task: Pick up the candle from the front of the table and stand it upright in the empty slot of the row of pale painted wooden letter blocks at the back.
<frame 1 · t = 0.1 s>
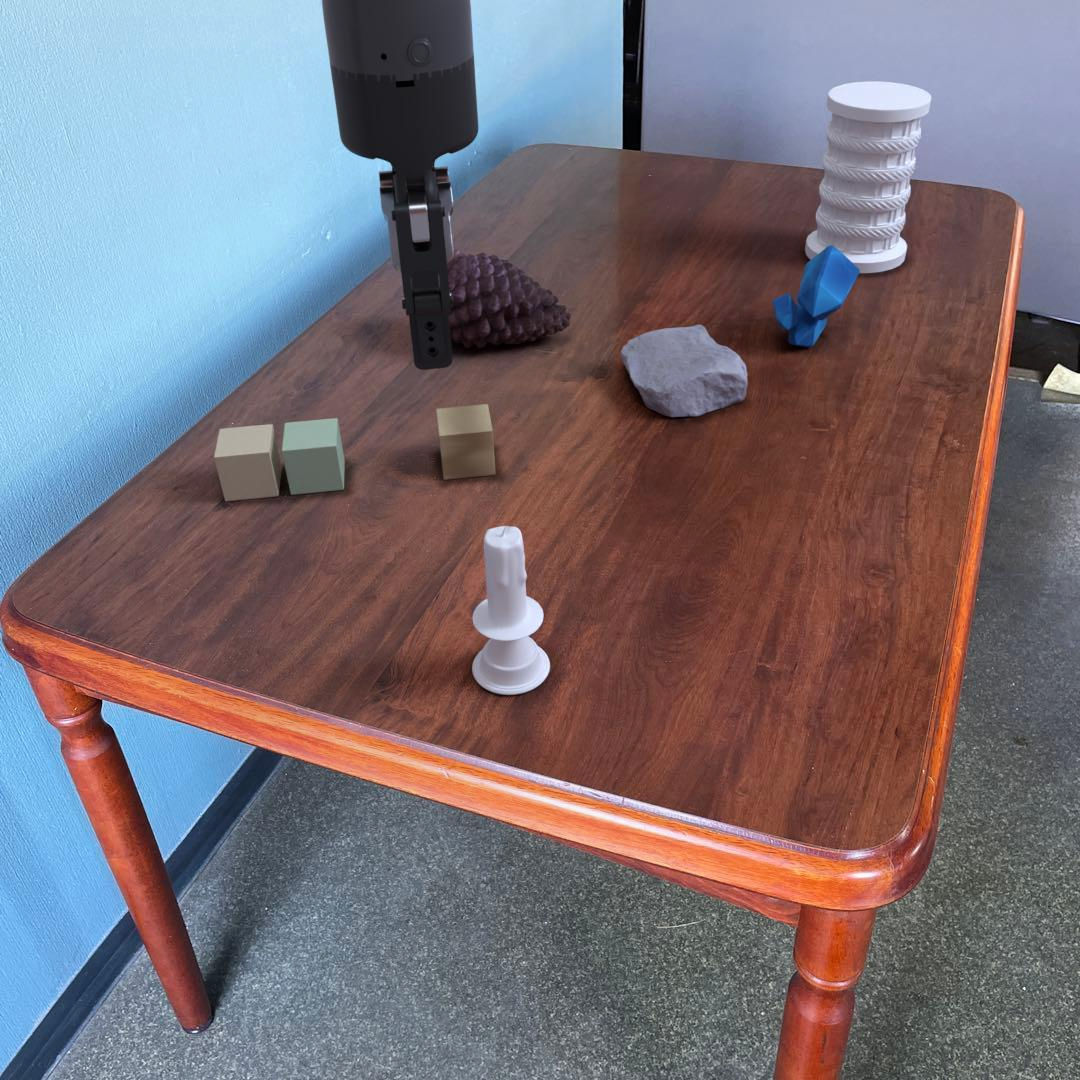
hand: (430, 332, 66), 22 cm above the table, tool pointing down, fingers open, 8 cm apart
crystal: (808, 335, 112), on the table
block 3: (467, 463, 94), on the table
pine cone: (488, 341, 113), on the table
block 1: (254, 484, 93), on the table
stone block: (675, 387, 104), on the table
candle: (511, 670, 74), on the table
decorative container: (854, 254, 128), on the table
block 2: (318, 477, 93), on the table
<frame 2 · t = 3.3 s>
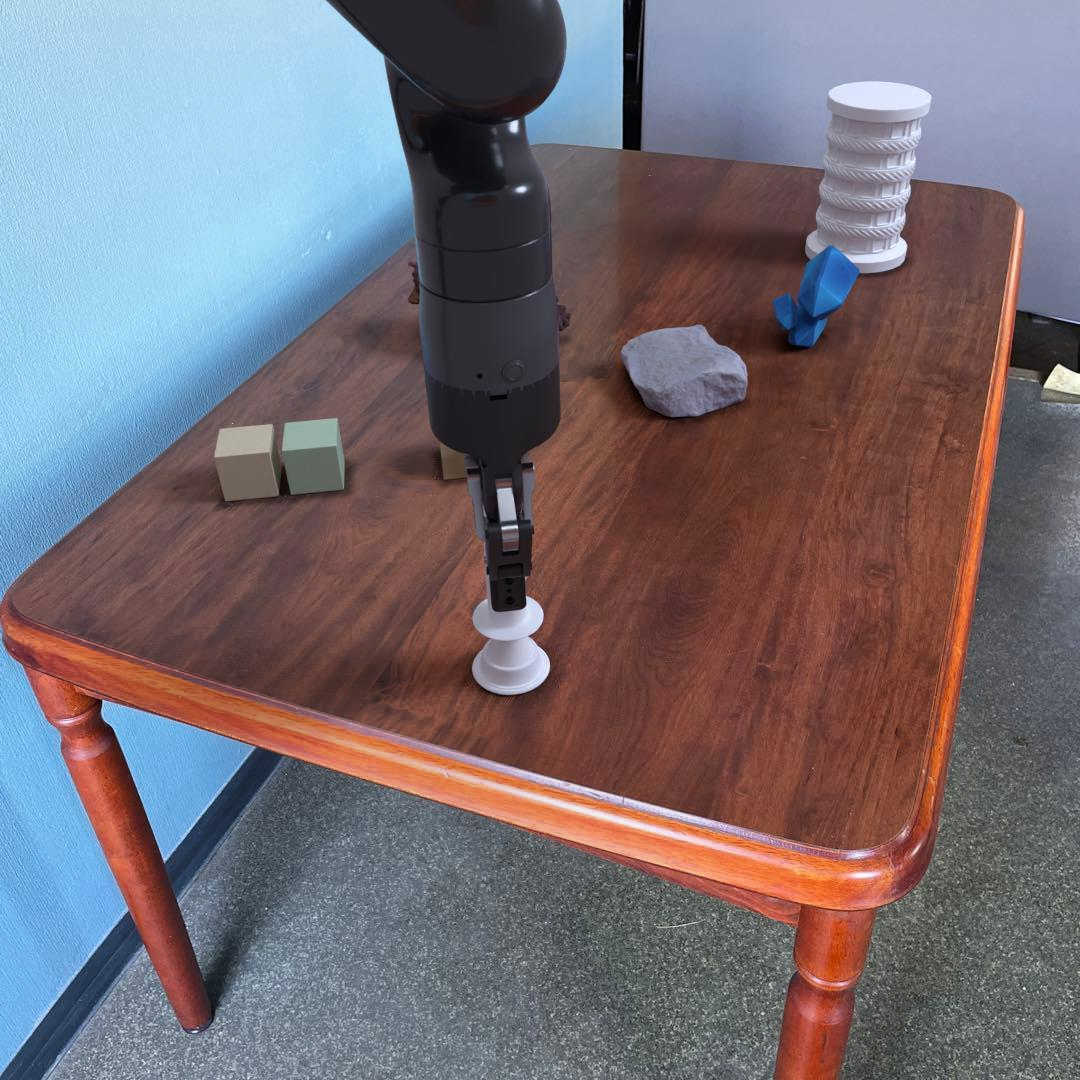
hand: (506, 591, 69), 7 cm above the table, tool pointing down, fingers closed on candle, 2 cm apart
candle: (511, 670, 74), on the table, touching gripper
everything else where it was.
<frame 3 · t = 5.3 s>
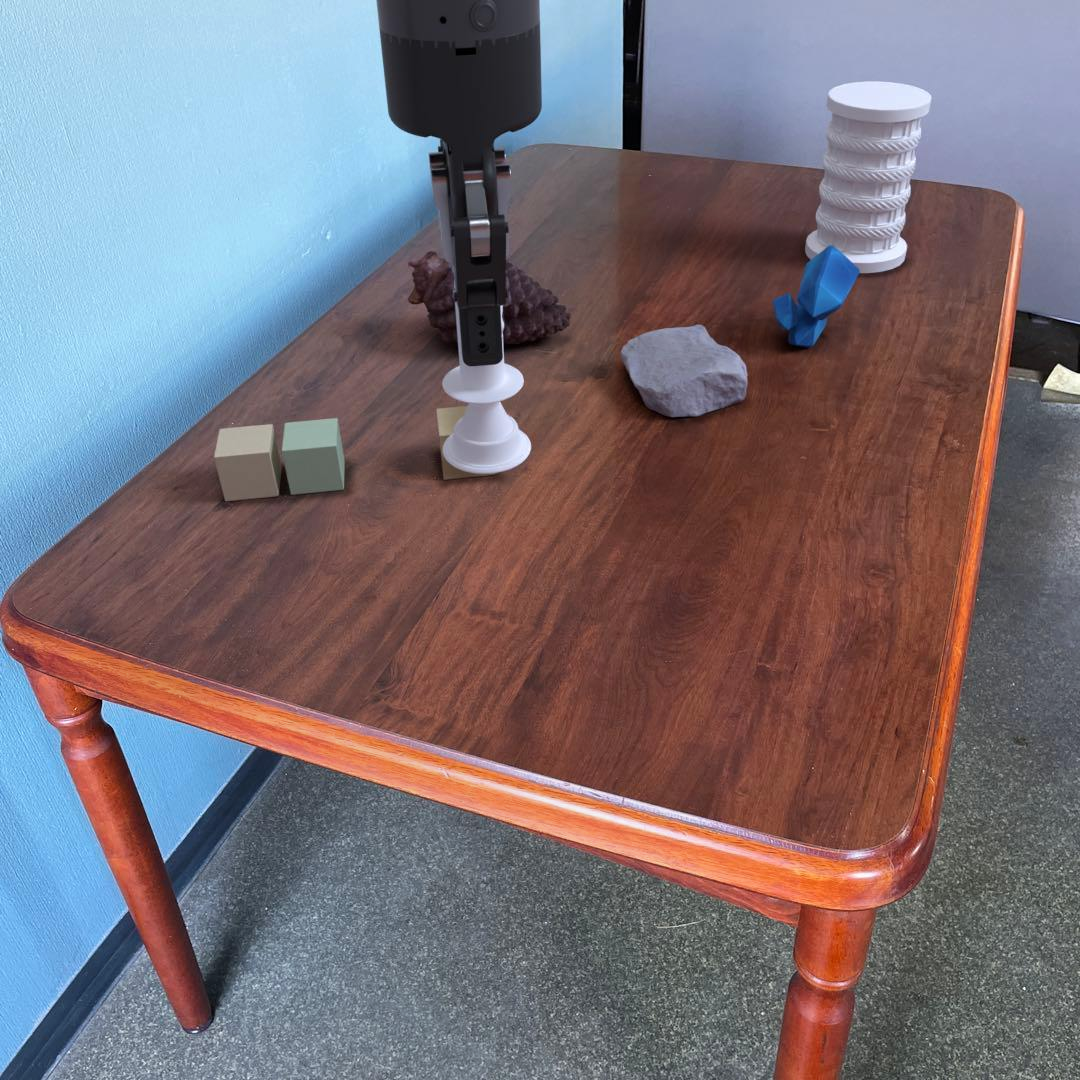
hand: (480, 348, 60), 24 cm above the table, tool pointing down, fingers closed on candle, 2 cm apart
candle: (487, 452, 65), point 17 cm above the table, touching gripper
everything else where it was.
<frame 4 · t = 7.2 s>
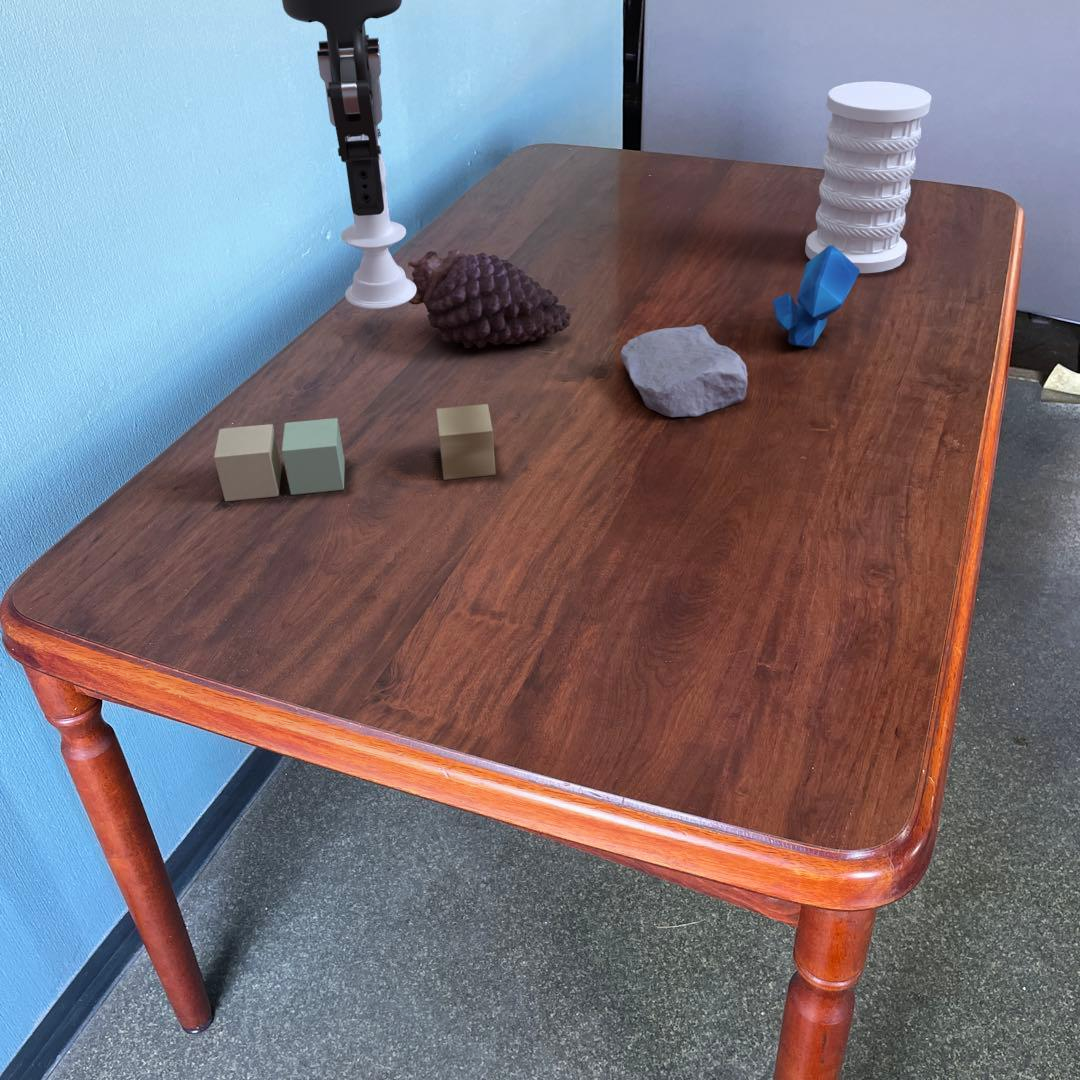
hand: (368, 204, 76), 25 cm above the table, tool pointing down, fingers closed on candle, 2 cm apart
candle: (381, 296, 81), point 18 cm above the table, touching gripper
everything else where it was.
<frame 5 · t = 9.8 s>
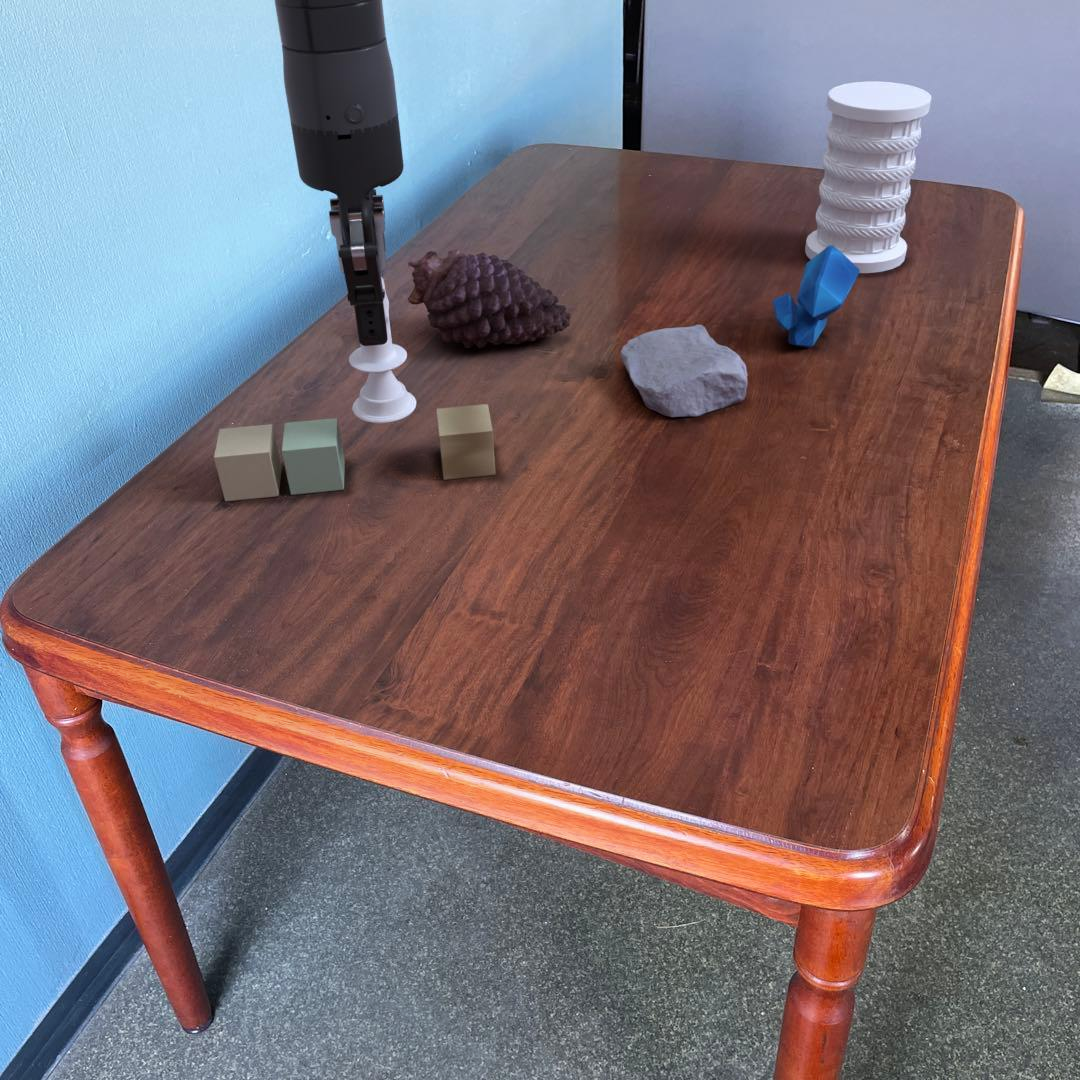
hand: (373, 333, 86), 13 cm above the table, tool pointing down, fingers closed on candle, 2 cm apart
candle: (384, 409, 90), point 6 cm above the table, touching gripper
everything else where it was.
when the fingers open (7 cm above the table, at t = 11.5 s): candle stays where it is, on the table.
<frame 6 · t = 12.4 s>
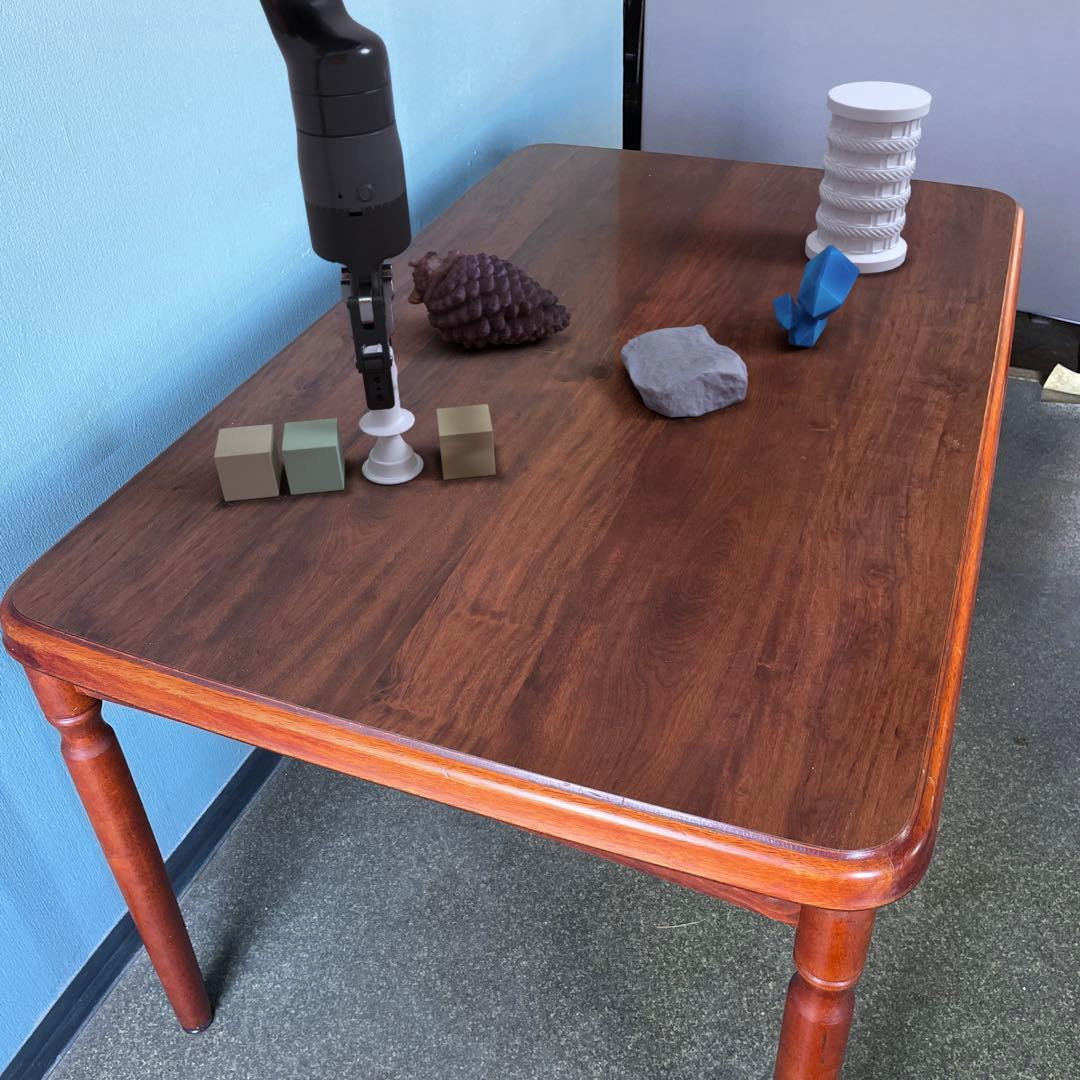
hand: (380, 381, 88), 9 cm above the table, tool pointing down, fingers open, 8 cm apart
candle: (393, 470, 94), on the table
everything else where it was.
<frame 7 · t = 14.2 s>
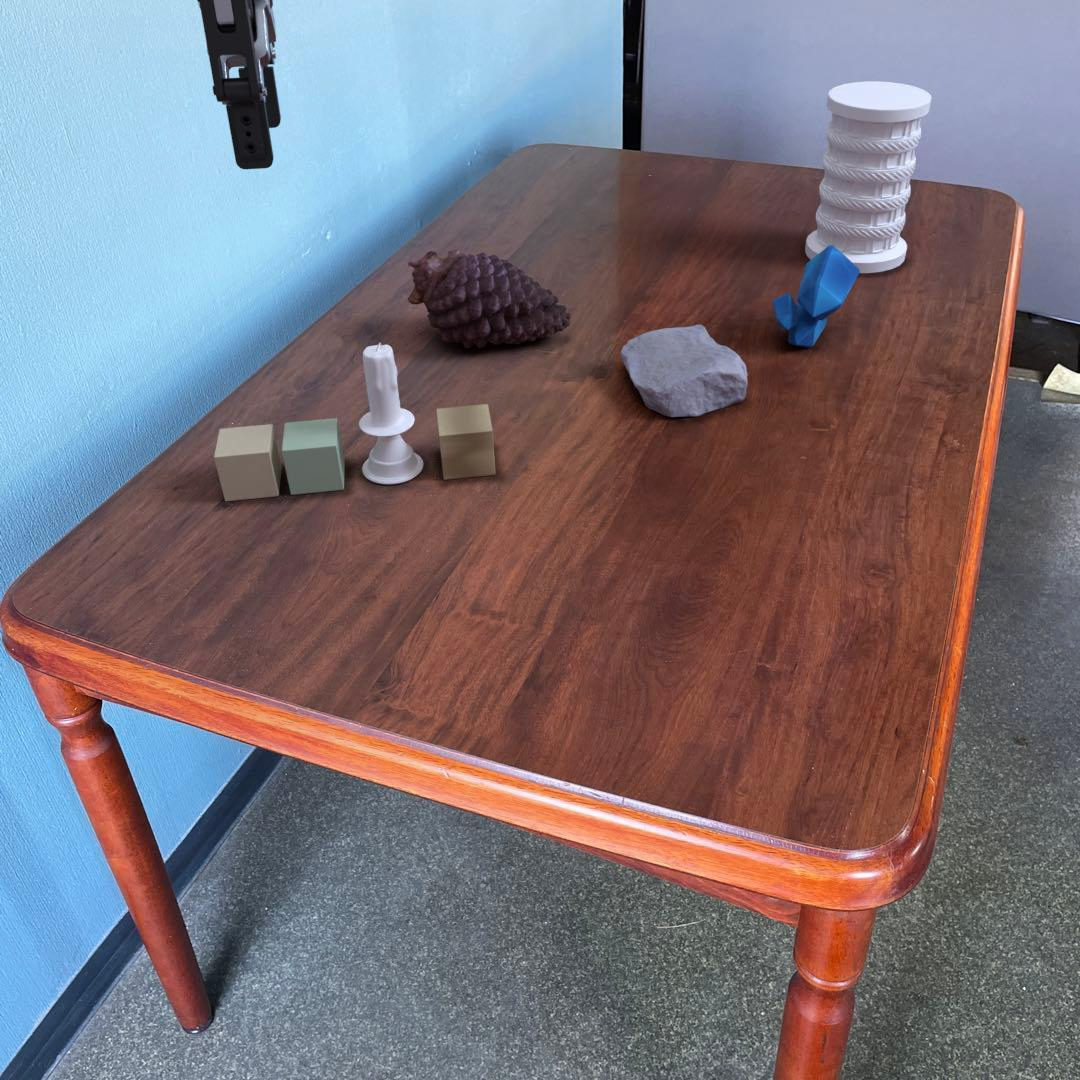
hand: (260, 146, 69), 31 cm above the table, tool pointing down, fingers open, 8 cm apart
nothing on the table moved.
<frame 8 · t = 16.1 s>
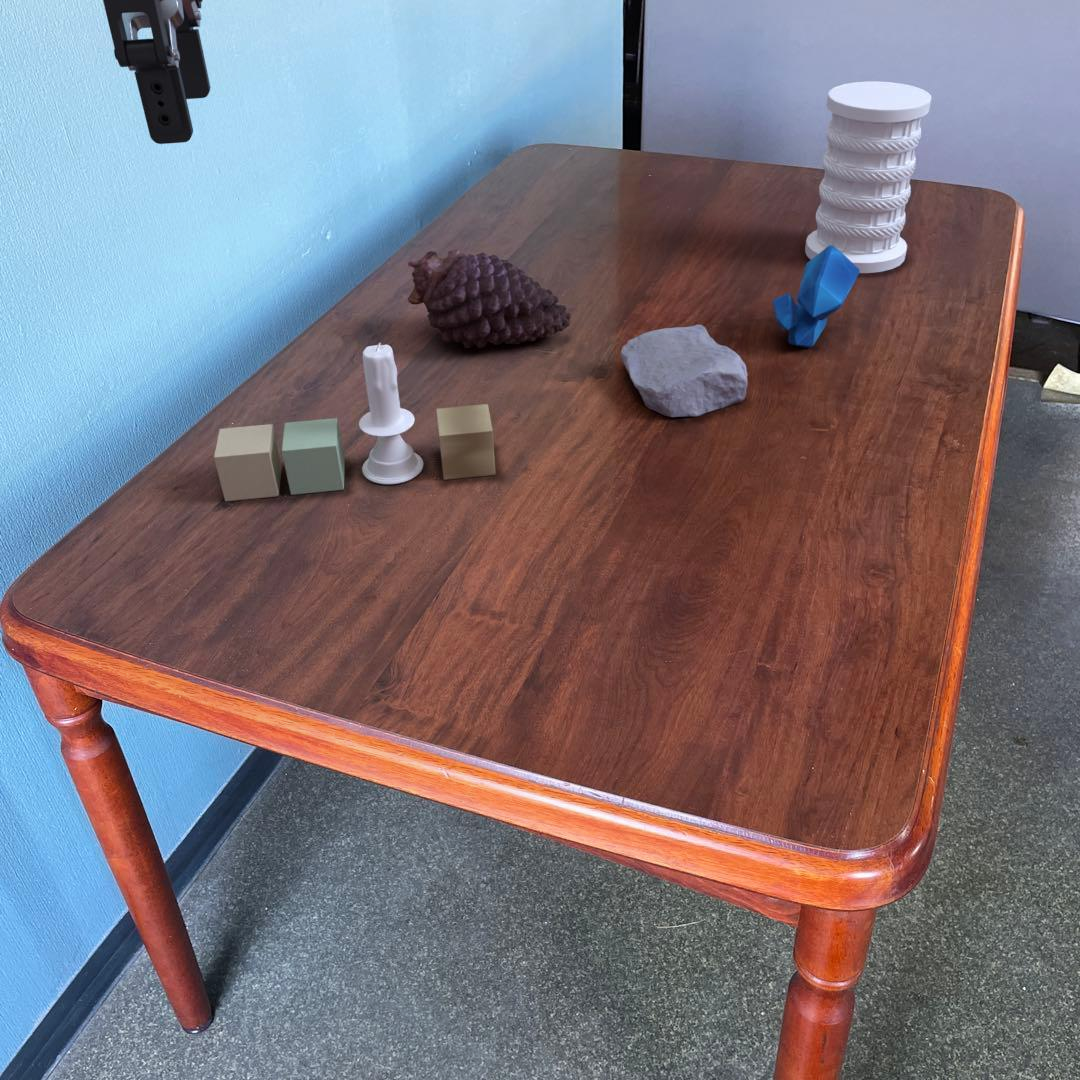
hand: (183, 118, 62), 34 cm above the table, tool pointing down, fingers open, 8 cm apart
nothing on the table moved.
at the end: candle 0.4 cm from the target spot on the table beside the block 3, on the table; candle tilted 0°; block 2 moved 0.0 cm from its start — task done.
